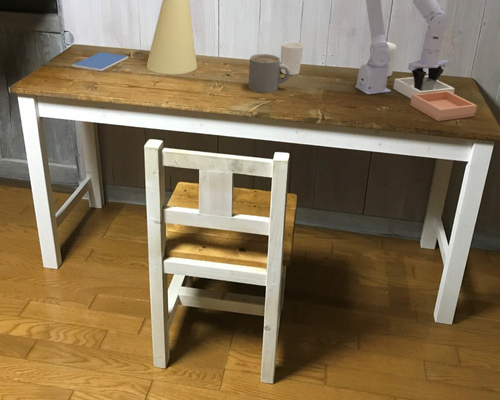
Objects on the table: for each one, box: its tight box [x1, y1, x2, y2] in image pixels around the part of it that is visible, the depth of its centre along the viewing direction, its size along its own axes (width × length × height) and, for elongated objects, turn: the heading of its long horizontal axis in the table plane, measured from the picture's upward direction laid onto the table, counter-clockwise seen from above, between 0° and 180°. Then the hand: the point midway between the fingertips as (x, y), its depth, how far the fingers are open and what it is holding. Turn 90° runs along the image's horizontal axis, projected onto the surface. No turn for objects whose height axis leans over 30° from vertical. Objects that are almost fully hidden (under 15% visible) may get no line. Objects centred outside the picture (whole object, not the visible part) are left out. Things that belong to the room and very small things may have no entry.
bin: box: [409, 91, 478, 122], centre depth 178 cm, size 14×14×4 cm
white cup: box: [280, 41, 304, 76], centre depth 203 cm, size 8×8×10 cm
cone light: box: [146, 0, 198, 75], centre depth 200 cm, size 25×18×35 cm
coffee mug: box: [248, 53, 291, 94], centre depth 187 cm, size 13×10×10 cm
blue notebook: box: [71, 51, 129, 72], centre depth 207 cm, size 19×13×1 cm, turn 161°
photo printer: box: [369, 41, 397, 77], centre depth 203 cm, size 10×4×12 cm, turn 123°
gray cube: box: [414, 77, 435, 91], centre depth 190 cm, size 4×4×4 cm
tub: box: [392, 75, 456, 99], centre depth 191 cm, size 14×14×4 cm
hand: (423, 89), depth 191 cm, fingers closed on gray cube, 4 cm apart
